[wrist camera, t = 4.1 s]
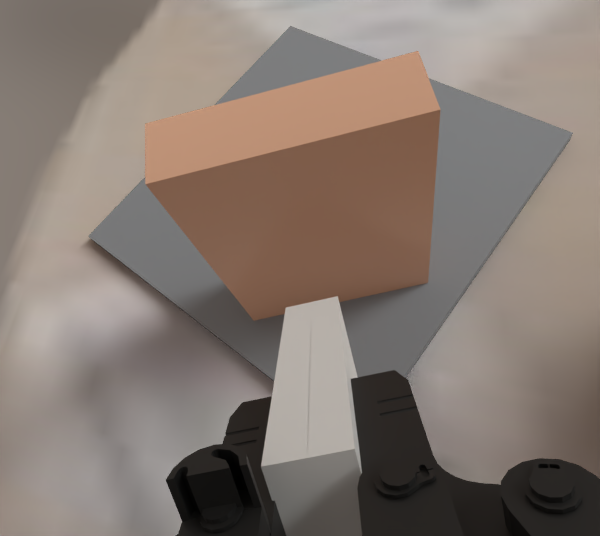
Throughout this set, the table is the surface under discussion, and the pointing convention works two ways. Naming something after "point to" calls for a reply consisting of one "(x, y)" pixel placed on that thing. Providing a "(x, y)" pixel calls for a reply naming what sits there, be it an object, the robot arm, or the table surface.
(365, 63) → the mat
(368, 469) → the robot arm
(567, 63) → the table surface
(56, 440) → the table surface
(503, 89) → the table surface
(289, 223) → the block
